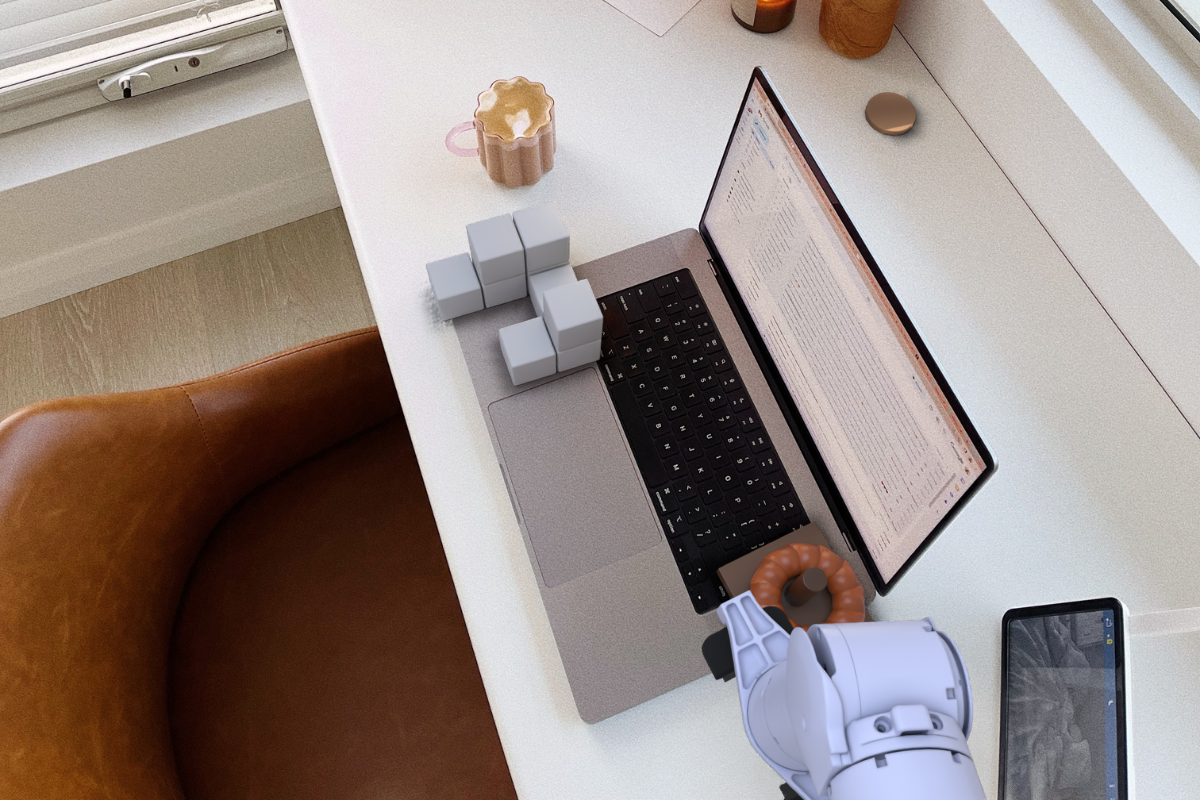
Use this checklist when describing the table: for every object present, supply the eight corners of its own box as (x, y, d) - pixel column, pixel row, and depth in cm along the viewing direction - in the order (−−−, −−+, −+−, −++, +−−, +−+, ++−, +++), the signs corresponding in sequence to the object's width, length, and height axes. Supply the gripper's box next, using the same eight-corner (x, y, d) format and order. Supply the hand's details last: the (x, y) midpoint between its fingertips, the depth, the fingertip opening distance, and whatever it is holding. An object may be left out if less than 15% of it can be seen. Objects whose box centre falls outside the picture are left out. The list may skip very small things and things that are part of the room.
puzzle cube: (430, 285, 83) (417, 237, 75) (556, 249, 85) (555, 198, 77) (469, 401, 78) (459, 361, 71) (600, 360, 80) (603, 317, 73)
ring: (880, 629, 71) (890, 624, 69) (783, 681, 69) (791, 677, 67) (821, 529, 74) (829, 521, 72) (727, 576, 72) (732, 570, 70)
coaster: (923, 125, 92) (925, 121, 91) (882, 142, 91) (884, 138, 90) (896, 89, 94) (898, 85, 93) (855, 105, 93) (857, 101, 92)
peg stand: (870, 624, 72) (900, 608, 66) (772, 676, 70) (793, 664, 64) (811, 524, 75) (834, 499, 69) (716, 571, 73) (731, 550, 67)
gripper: (964, 811, 45) (877, 806, 57) (812, 549, 50) (762, 597, 62) (844, 882, 44) (781, 861, 56) (699, 606, 48) (671, 643, 61)
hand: (765, 725), depth 59 cm, fingers open, 7 cm apart
